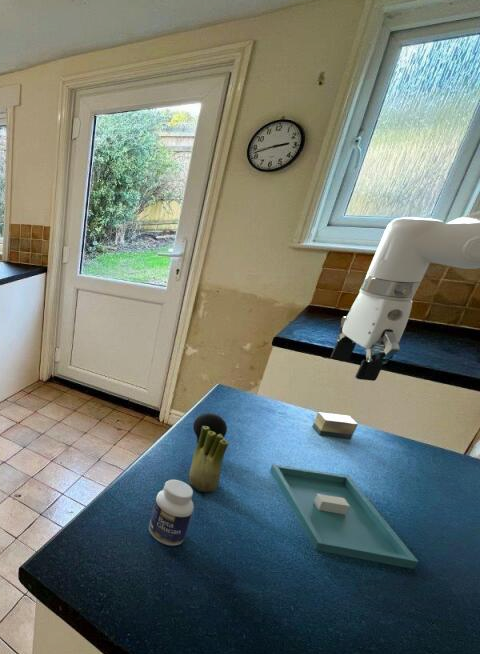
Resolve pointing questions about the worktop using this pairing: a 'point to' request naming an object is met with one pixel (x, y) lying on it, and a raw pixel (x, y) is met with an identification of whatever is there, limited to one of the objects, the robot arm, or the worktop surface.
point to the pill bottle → (172, 513)
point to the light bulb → (210, 424)
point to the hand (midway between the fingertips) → (351, 368)
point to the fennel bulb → (207, 461)
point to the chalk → (331, 504)
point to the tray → (341, 517)
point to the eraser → (334, 425)
